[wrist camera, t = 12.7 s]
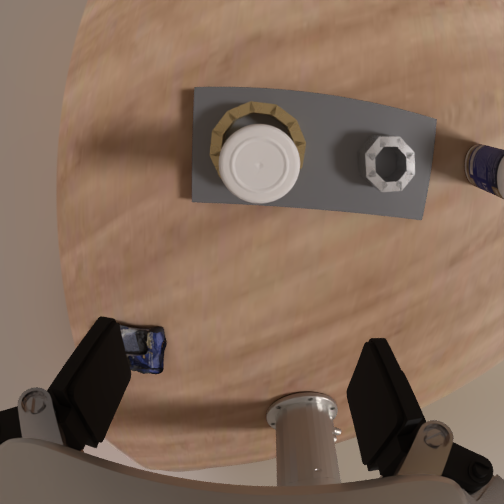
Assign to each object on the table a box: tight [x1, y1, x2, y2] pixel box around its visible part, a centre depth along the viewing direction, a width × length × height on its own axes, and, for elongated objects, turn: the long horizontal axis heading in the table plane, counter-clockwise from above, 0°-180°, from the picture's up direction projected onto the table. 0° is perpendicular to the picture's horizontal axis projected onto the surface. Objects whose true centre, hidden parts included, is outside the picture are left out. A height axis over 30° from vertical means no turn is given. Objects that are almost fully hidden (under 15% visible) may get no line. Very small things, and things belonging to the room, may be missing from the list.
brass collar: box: [210, 101, 306, 178], centre depth 27 cm, size 8×8×2 cm
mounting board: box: [192, 87, 437, 220], centre depth 28 cm, size 26×12×2 cm, turn 87°
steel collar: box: [357, 135, 415, 192], centre depth 27 cm, size 6×6×2 cm
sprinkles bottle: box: [219, 124, 300, 203], centre depth 22 cm, size 5×5×13 cm
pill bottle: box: [465, 144, 504, 199], centre depth 24 cm, size 6×6×10 cm
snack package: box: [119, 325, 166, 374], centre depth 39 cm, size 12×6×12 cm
